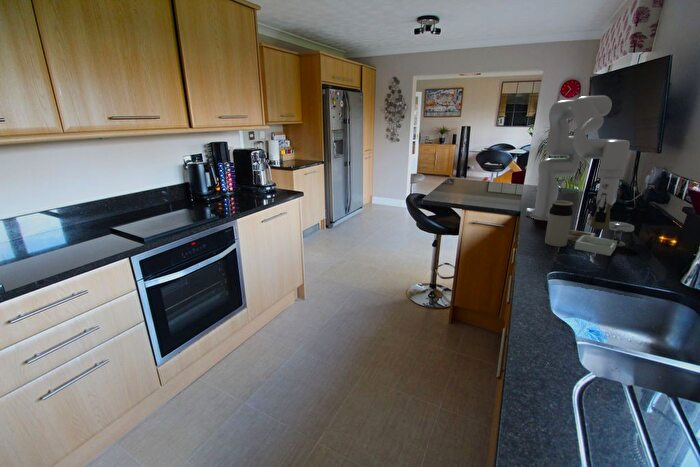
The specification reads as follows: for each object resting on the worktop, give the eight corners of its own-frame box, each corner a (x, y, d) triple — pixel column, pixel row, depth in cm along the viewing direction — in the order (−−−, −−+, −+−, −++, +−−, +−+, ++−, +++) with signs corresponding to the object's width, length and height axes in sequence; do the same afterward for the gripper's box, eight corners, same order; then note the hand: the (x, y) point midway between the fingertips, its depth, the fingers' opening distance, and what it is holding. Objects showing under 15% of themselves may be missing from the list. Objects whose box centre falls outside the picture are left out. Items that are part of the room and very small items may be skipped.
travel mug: (569, 247, 134) (577, 204, 129) (548, 246, 136) (555, 204, 130) (562, 241, 142) (569, 200, 136) (541, 240, 143) (548, 200, 138)
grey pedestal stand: (600, 244, 136) (604, 224, 134) (604, 239, 142) (608, 220, 140) (627, 249, 130) (632, 228, 128) (631, 243, 136) (636, 223, 134)
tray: (574, 248, 133) (575, 241, 132) (581, 241, 140) (583, 234, 139) (610, 255, 125) (611, 248, 124) (615, 247, 132) (617, 240, 131)
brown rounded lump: (603, 225, 132) (608, 198, 129) (613, 229, 127) (619, 201, 123) (587, 225, 133) (592, 198, 130) (596, 229, 127) (601, 201, 124)
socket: (561, 238, 145) (562, 234, 144) (568, 233, 151) (569, 229, 151) (589, 243, 138) (590, 239, 137) (594, 238, 144) (595, 233, 144)
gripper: (619, 177, 115) (608, 227, 121) (626, 172, 126) (616, 218, 132) (593, 175, 121) (584, 223, 126) (603, 171, 132) (594, 215, 137)
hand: (601, 220), depth 129 cm, fingers closed on brown rounded lump, 4 cm apart
